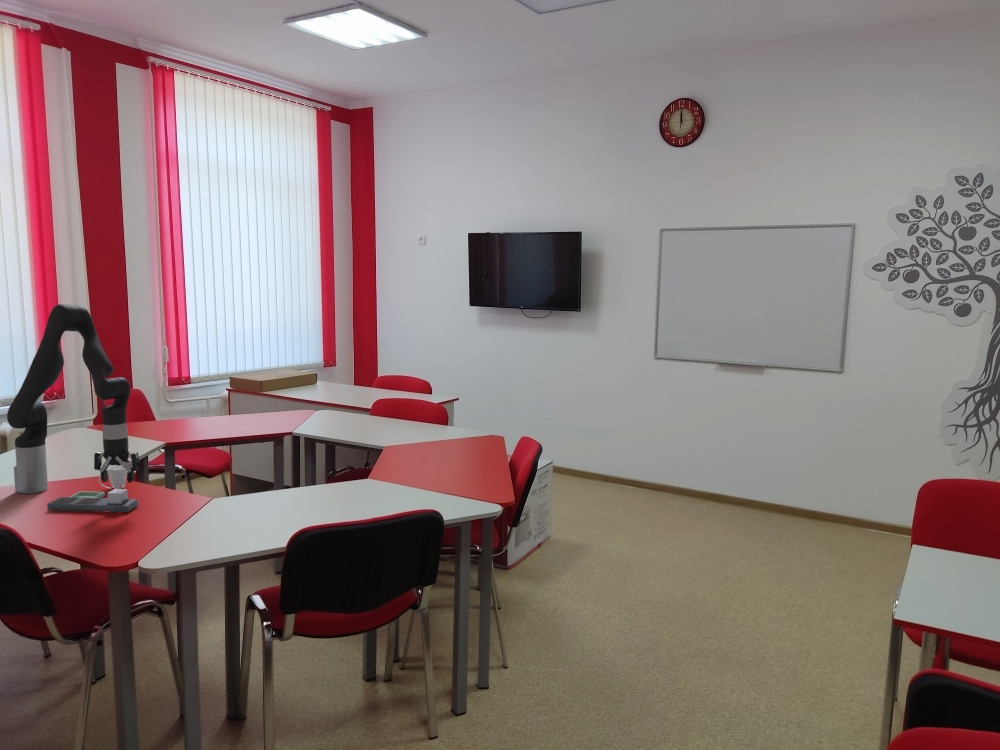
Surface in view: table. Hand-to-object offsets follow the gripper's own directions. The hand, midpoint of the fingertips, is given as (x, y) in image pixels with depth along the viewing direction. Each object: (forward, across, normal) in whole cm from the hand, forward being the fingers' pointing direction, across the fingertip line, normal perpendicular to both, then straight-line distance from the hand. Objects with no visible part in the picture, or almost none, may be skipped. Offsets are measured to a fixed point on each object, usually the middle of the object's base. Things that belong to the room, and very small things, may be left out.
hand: (117, 481), depth 239 cm
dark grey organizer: (+10, -9, 0) cm, 13 cm away
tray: (+10, -16, +8) cm, 21 cm away
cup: (+10, -13, +22) cm, 27 cm away
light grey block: (+10, 0, 0) cm, 10 cm away
